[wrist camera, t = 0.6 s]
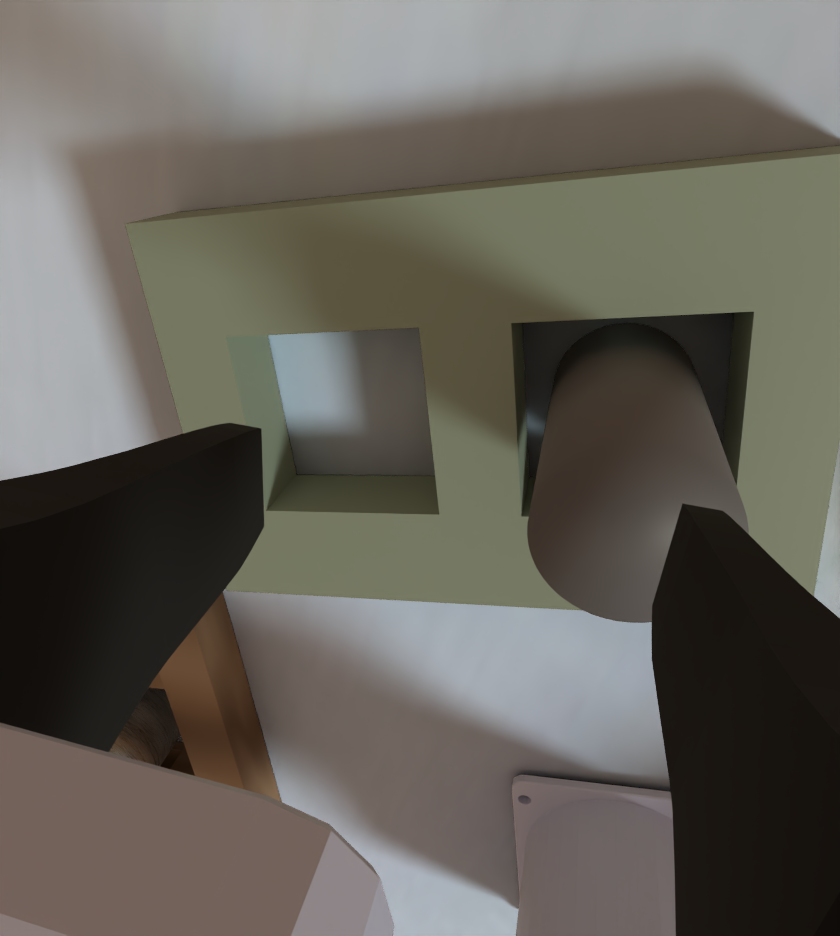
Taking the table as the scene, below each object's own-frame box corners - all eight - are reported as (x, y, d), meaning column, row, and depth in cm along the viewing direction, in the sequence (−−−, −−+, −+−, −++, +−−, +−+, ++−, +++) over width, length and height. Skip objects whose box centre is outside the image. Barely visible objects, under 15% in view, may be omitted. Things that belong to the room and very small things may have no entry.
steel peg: (204, 732, 32) (91, 907, 25) (128, 723, 32) (0, 889, 26) (181, 664, 30) (54, 831, 23) (102, 657, 31) (-43, 815, 24)
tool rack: (788, 571, 21) (877, 791, 14) (258, 550, 26) (132, 710, 19) (849, 144, 16) (1034, 166, 9) (174, 212, 21) (-40, 261, 14)
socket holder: (281, 801, 32) (261, 845, 31) (99, 777, 35) (70, 815, 33) (222, 591, 27) (193, 627, 25) (14, 580, 30) (-26, 612, 28)
